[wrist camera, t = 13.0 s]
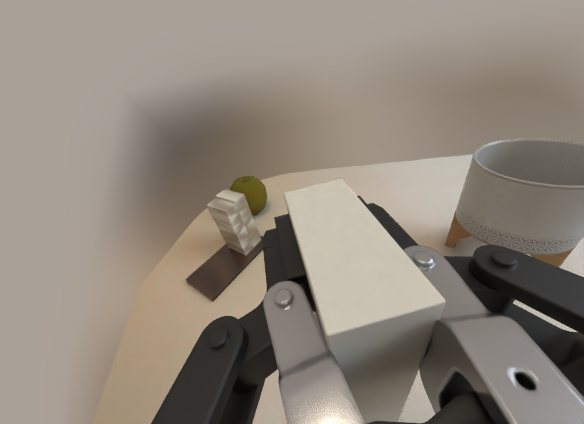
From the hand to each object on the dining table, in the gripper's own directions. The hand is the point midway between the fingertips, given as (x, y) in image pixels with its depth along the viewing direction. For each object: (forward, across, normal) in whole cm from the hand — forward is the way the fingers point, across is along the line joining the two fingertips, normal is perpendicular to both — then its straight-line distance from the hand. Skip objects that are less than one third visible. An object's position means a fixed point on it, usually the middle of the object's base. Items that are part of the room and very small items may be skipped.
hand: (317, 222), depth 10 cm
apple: (+45, +9, +27) cm, 53 cm away
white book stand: (+27, +15, +27) cm, 41 cm away
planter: (+11, -30, +27) cm, 42 cm away
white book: (-3, 0, +10) cm, 10 cm away
